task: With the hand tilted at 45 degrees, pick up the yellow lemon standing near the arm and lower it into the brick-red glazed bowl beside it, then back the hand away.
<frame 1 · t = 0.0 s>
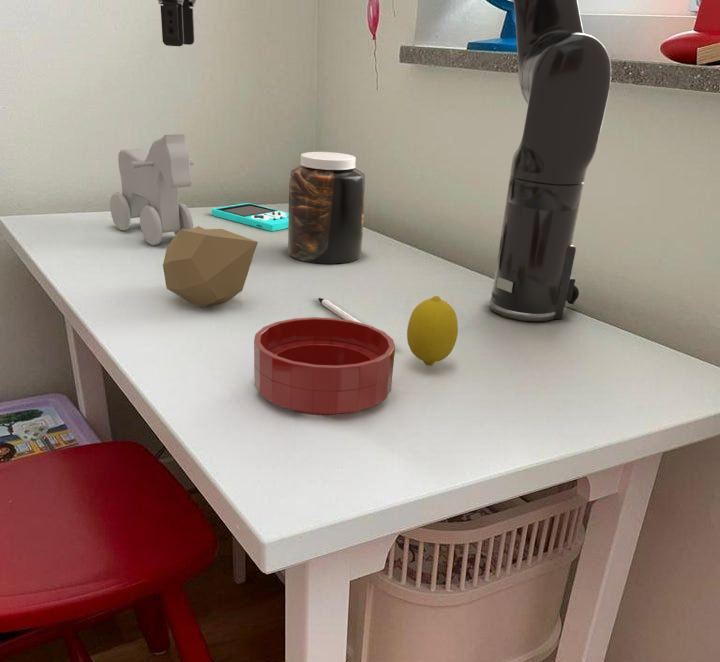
hand: (179, 45, 87), 29 cm above the table, tool pointing down, fingers open, 8 cm apart
handheld game console: (258, 220, 144), on the table
bowl: (322, 391, 79), on the table
pony: (156, 238, 128), on the table
low-poly potato: (207, 299, 103), on the table
pen: (352, 325, 97), on the table
lemon: (428, 367, 87), on the table
jar: (324, 255, 125), on the table
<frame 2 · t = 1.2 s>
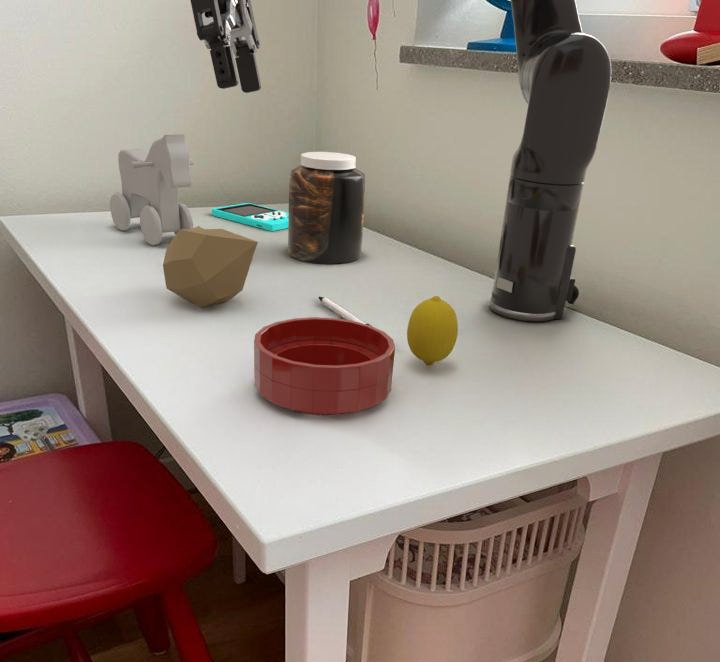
hand: (241, 89, 86), 25 cm above the table, tool tilted 15°, fingers open, 8 cm apart
nothing on the table moved.
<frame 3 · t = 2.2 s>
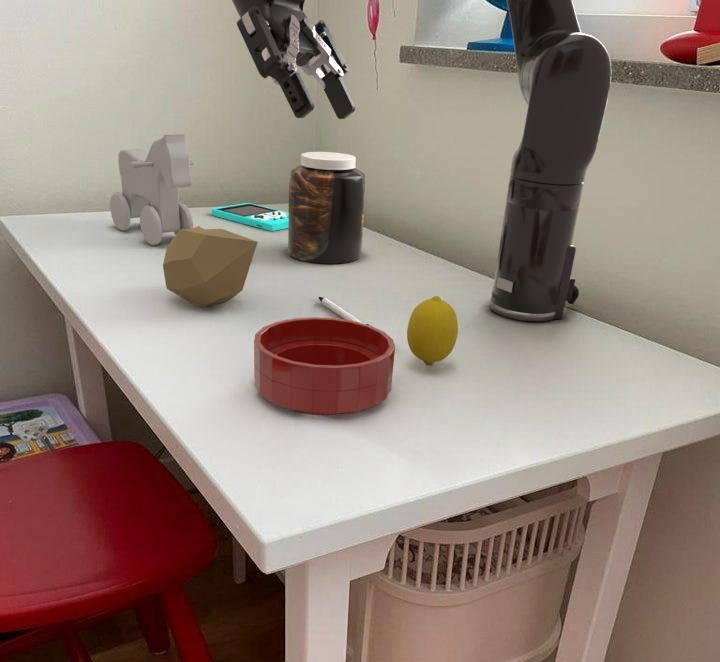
hand: (328, 114, 82), 24 cm above the table, tool tilted 35°, fingers open, 8 cm apart
nothing on the table moved.
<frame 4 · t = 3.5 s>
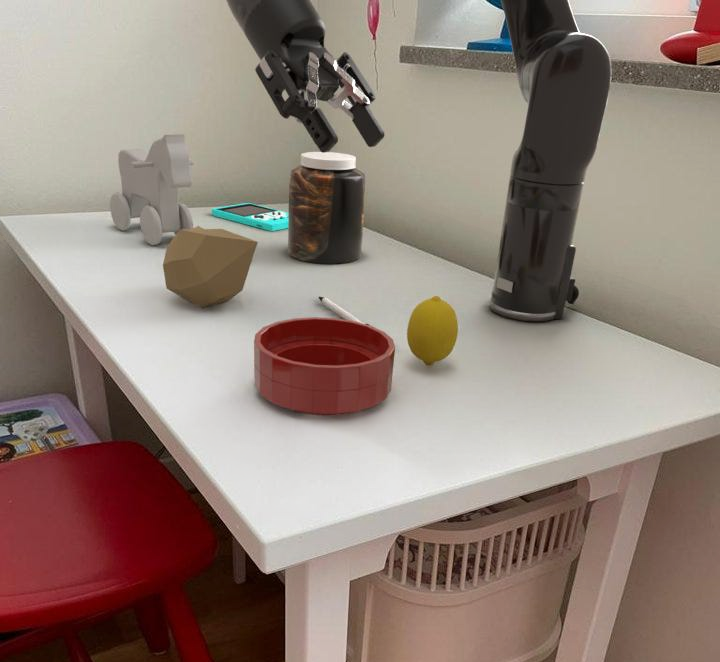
hand: (355, 144, 81), 22 cm above the table, tool tilted 45°, fingers open, 8 cm apart
nothing on the table moved.
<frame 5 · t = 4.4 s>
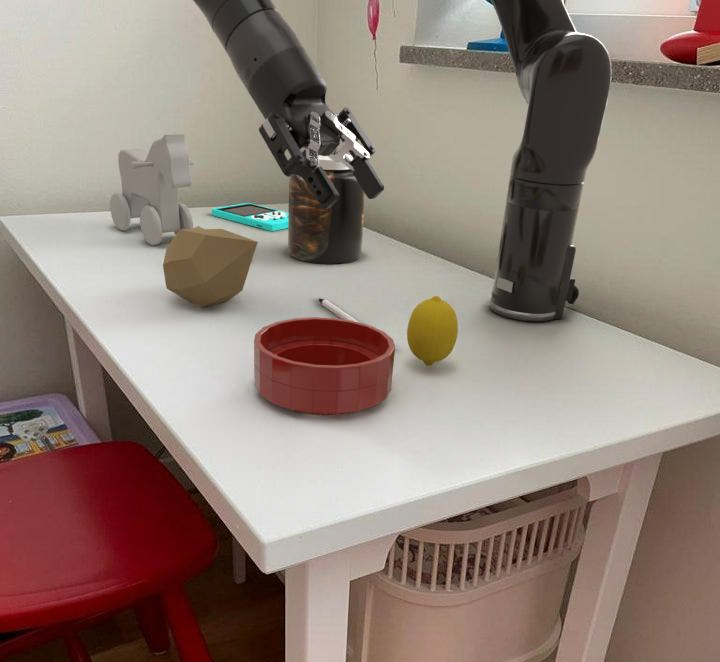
hand: (355, 199, 84), 16 cm above the table, tool tilted 45°, fingers open, 8 cm apart
nothing on the table moved.
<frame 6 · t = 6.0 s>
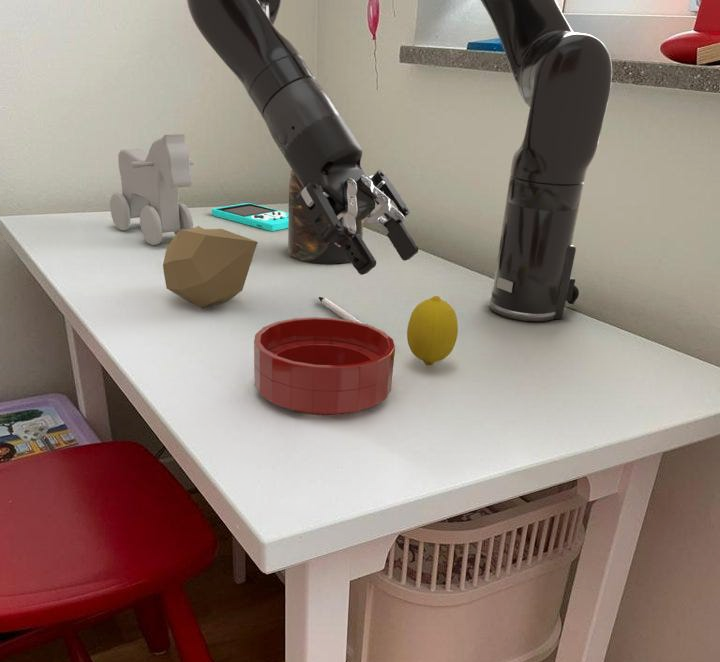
hand: (391, 263, 84), 10 cm above the table, tool tilted 45°, fingers open, 8 cm apart
nothing on the table moved.
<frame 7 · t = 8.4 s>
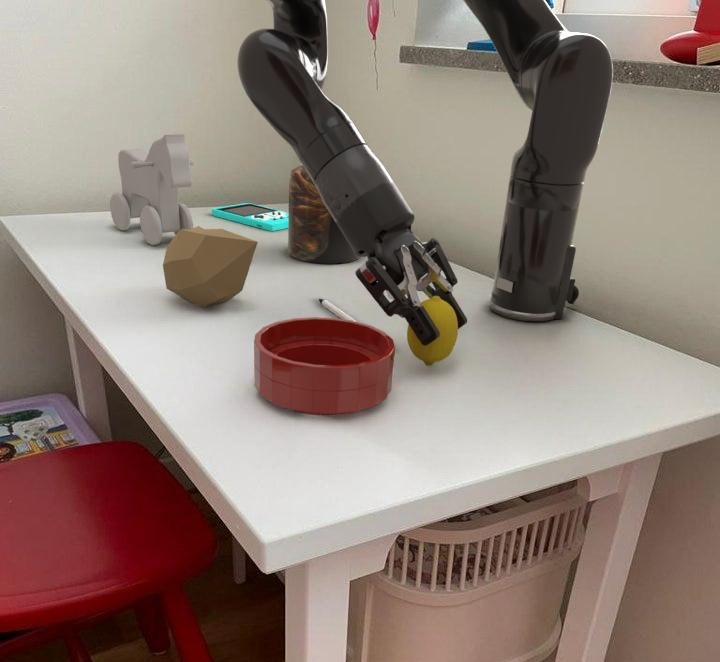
hand: (446, 333, 84), 4 cm above the table, tool tilted 45°, fingers closed on lemon, 5 cm apart
lemon: (428, 367, 87), on the table, touching gripper
everything else where it was.
when the fingers open (5 cm above the table, at t = 16.5 s): lemon stays where it is, resting on bowl.
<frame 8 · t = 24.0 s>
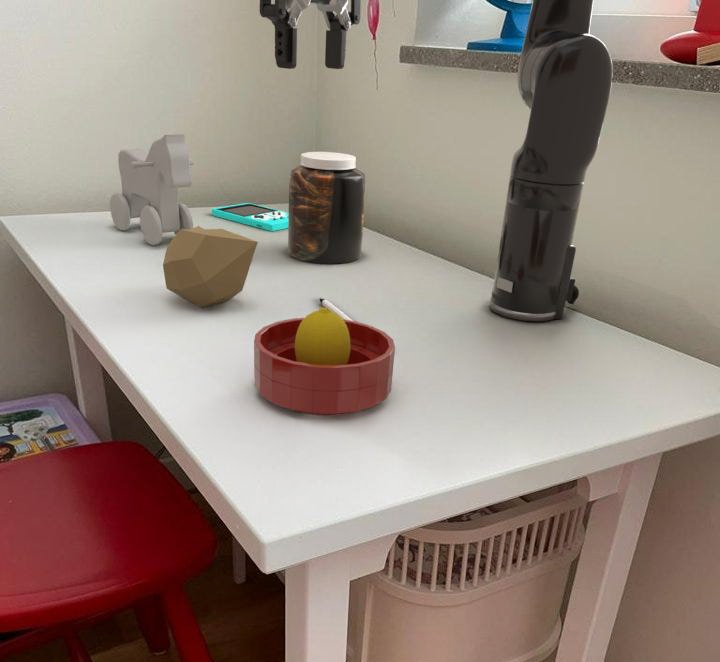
hand: (311, 68, 84), 28 cm above the table, tool pointing down, fingers open, 8 cm apart
lemon: (321, 385, 79), point 1 cm above the table, touching bowl
everything else where it was.
at the end: lemon inside the target area in the bowl (0.2 cm from its centre), point 0.6 cm above the bowl's base; the gripper is holding nothing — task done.
